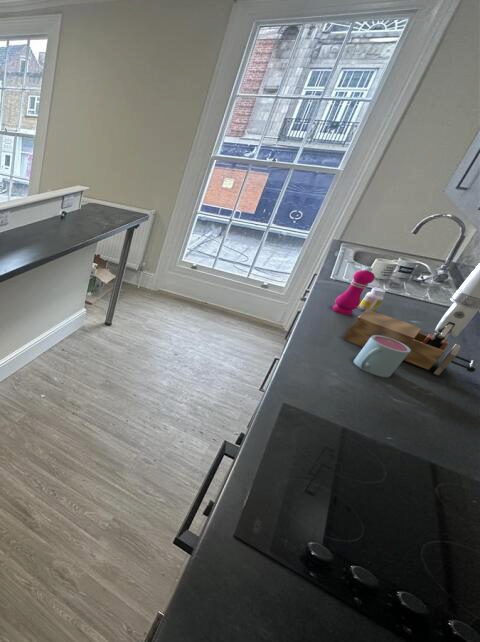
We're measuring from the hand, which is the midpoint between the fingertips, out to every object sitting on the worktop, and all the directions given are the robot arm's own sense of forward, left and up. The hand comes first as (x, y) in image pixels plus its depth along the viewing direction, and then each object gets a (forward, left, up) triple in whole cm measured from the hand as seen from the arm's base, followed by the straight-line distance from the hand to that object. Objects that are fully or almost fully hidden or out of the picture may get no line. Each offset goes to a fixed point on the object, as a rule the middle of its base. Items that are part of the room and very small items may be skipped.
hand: (429, 348), depth 130 cm
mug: (-4, +24, -6) cm, 25 cm away
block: (0, 0, 0) cm, 0 cm away
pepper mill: (+34, -6, -6) cm, 35 cm away
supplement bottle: (+36, -20, -6) cm, 42 cm away
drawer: (-1, -1, -5) cm, 5 cm away
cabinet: (+10, +6, -6) cm, 13 cm away
